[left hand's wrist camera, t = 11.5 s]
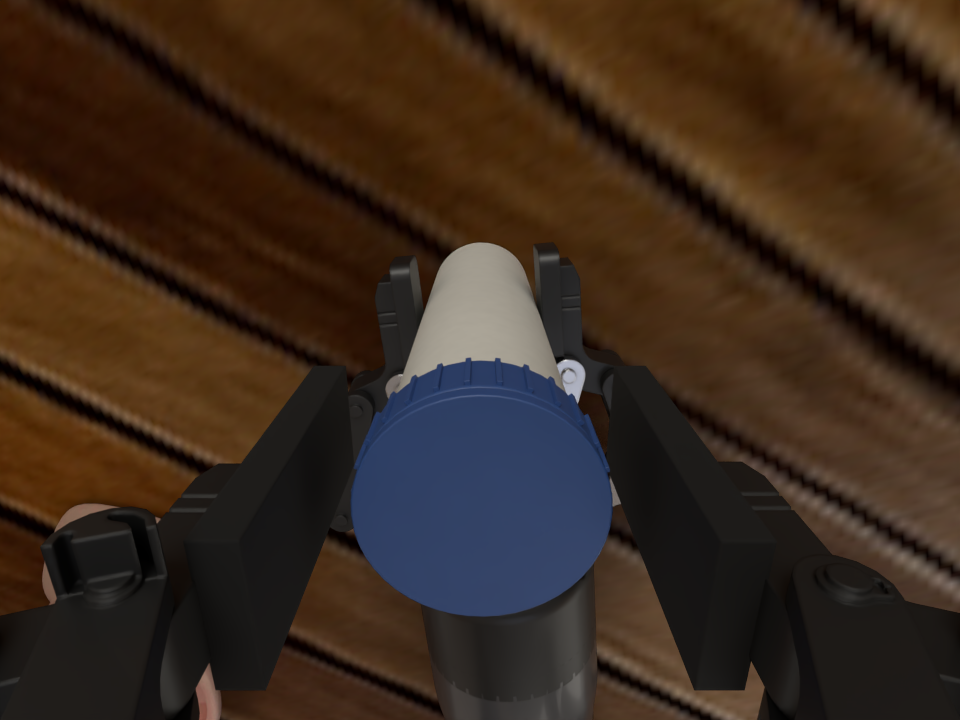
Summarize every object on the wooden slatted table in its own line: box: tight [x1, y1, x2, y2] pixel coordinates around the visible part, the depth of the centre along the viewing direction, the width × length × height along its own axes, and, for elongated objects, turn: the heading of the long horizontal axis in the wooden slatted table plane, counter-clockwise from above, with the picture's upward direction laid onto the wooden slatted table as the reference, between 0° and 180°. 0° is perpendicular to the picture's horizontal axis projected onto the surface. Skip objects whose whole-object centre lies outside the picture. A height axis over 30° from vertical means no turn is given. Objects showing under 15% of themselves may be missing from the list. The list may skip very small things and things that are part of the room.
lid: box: [351, 357, 613, 617], centre depth 11 cm, size 5×5×2 cm
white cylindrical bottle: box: [397, 243, 566, 393], centre depth 19 cm, size 4×4×17 cm
